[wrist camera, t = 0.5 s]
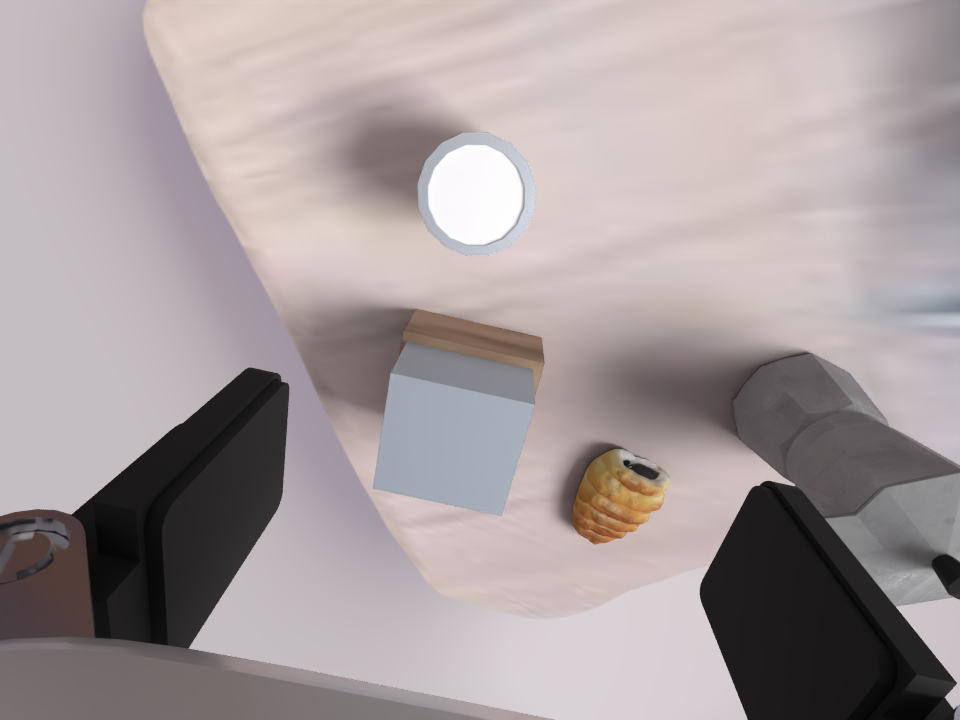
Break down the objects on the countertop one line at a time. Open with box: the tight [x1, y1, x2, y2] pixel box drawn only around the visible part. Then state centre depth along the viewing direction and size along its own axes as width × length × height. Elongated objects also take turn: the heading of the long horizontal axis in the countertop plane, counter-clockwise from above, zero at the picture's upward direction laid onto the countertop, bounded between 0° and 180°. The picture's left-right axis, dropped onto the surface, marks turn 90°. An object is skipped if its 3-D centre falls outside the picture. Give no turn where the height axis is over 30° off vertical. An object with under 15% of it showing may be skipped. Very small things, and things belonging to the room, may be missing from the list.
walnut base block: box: [399, 309, 544, 396], centre depth 40 cm, size 10×10×5 cm
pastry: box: [572, 449, 671, 544], centre depth 44 cm, size 9×7×4 cm
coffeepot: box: [732, 353, 960, 607], centre depth 33 cm, size 15×9×18 cm, turn 87°
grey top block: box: [373, 342, 535, 516], centre depth 35 cm, size 9×9×5 cm
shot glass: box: [417, 132, 536, 256], centre depth 32 cm, size 7×7×7 cm
